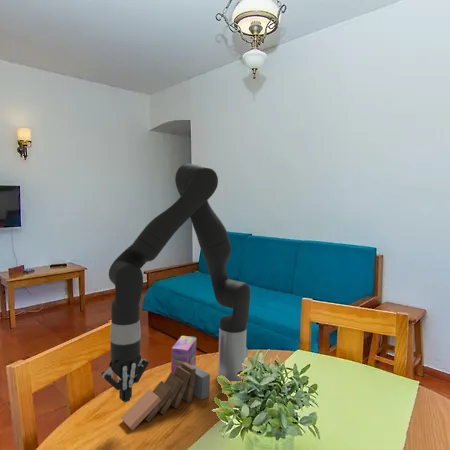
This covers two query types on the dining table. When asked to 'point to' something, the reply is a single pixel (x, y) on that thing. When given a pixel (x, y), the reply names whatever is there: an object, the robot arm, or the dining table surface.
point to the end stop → (201, 384)
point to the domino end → (140, 409)
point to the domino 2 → (175, 385)
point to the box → (183, 352)
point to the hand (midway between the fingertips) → (125, 400)
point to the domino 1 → (163, 393)
